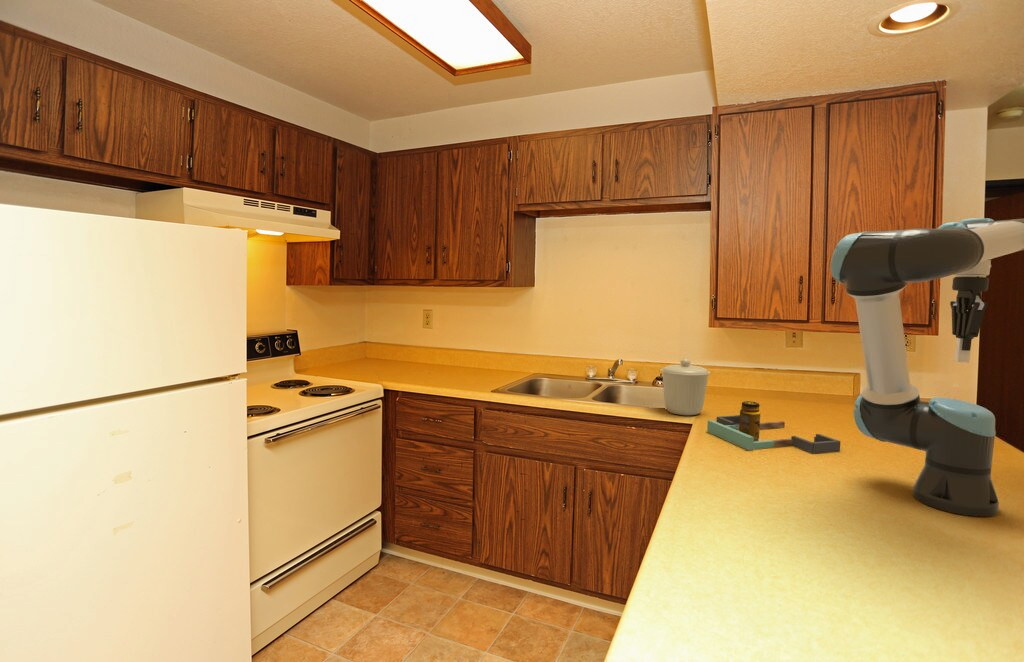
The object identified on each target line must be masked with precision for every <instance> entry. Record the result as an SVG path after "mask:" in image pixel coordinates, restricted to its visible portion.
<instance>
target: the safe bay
mask: <svg viewBox="0 0 1024 662" xmlns="http://www.w3.org/2000/svg"><path fill="white" fill-rule="evenodd" d="M706 427H707V428H706V429H707V431H706V432H707V434H708V433H709V434H711V435H713V436H715V437H718V438H719V439H722V440H724V441H726V442H728V443H731V444H733V445H735V446H738V447H740V448H742V449H745V450H746V451H754V450H762V448H764V449H772V448H773V449H774V441H772V440H773V439H769V440H768V439H767V440H764V441H755V442H754V437H752V436H750V435H747V434H745V433H742V432H740V431H739V430H735V425H732V426H731V425H723V424H720V423H718V422H716V420H712V419H709V420H707V426H706Z"/></svg>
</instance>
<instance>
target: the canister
mask: <svg viewBox="0 0 1024 662" xmlns="http://www.w3.org/2000/svg"><path fill="white" fill-rule="evenodd" d="M660 372H661V373H662V385H663V387H662V388H663V398H664V406H665V408H666V410H667V412H669V413H671V414H673V415H677V416H696V415H699V414H700V413H701V412H702V411H703V408H704V403H705V399H706V392H707V385H708V378H709V375H711V371H709V370H708V368H707V369H706V368H705V367H703V366H698V365H694V364H693V365H692V364H691V360H690V359H689V358H682V359H681V360H680V364H670V365H666V366H663V367H662V368H661V369H660Z"/></svg>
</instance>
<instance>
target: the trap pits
mask: <svg viewBox="0 0 1024 662" xmlns="http://www.w3.org/2000/svg"><path fill="white" fill-rule="evenodd" d="M739 421H740V414H738V415H737V414H736V415H723V416H716V420H715V422H718V423H720V424H723V425H731V426H732V425H735V430H737V431H739ZM815 437H817V438H816V439H815V440H816V441H815V442H814V441H810V440H807V439H805V438H803V437H800V436H796V435H791V438H790V439H792V440H793V445H792V446H791V447H794V448H795V449H800V450H802V451H804V452H806V453H809V454H821V453H822V454H825V453H833V452H834V453H835V452H840V451H841V440H838V439H835V438H832V437H829V436H826V435H824V434H821V433H815Z"/></svg>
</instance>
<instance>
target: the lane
mask: <svg viewBox="0 0 1024 662" xmlns="http://www.w3.org/2000/svg"><path fill="white" fill-rule="evenodd" d="M785 423H786V422H785V421H781V420H780V421H771V422H770V421H769V422H760V430H761V431H763V430H773V429H774V430H775V429H785V427H786V426H785V425H786V424H785ZM760 430H759V431H760ZM816 438H817V437H816V436H814V437H813V442H815V441H816V440H815V439H816ZM771 440H772V441H774V447H775V448H784V447H785V448H786V447H793V446H792V445H793V440H792V439H791V438H781V439H771Z"/></svg>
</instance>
